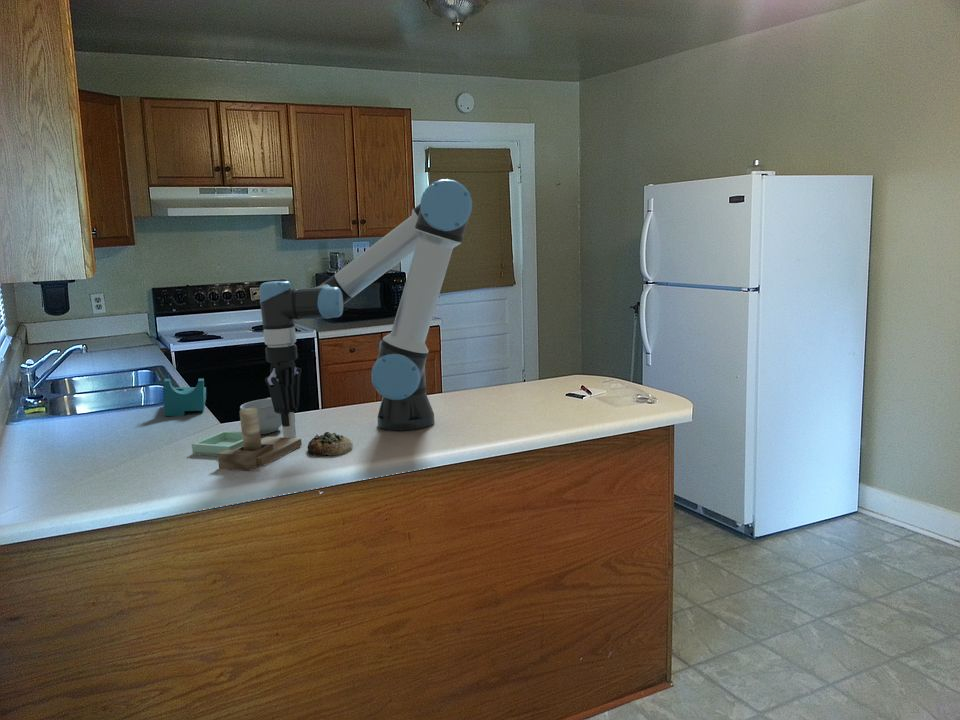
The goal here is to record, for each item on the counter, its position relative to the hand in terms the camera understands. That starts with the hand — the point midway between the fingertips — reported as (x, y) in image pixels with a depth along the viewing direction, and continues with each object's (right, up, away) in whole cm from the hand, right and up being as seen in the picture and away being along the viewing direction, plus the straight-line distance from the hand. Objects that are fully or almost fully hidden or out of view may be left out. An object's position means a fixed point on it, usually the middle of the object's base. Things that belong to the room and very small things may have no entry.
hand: (290, 437), depth 192 cm
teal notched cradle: (-42, +4, +43) cm, 60 cm away
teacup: (-9, 0, +13) cm, 16 cm away
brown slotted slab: (-4, -4, -9) cm, 10 cm away
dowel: (-5, -2, -13) cm, 14 cm away
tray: (-15, -2, -3) cm, 15 cm away
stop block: (-7, -5, -18) cm, 20 cm away
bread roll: (+12, -3, -7) cm, 14 cm away
